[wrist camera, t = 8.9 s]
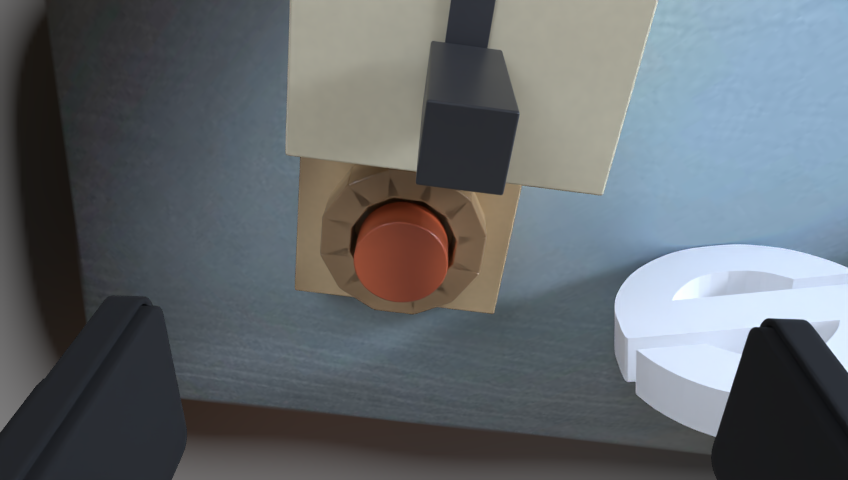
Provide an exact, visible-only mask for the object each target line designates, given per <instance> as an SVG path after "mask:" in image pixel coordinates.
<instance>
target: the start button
mask: <svg viewBox="0 0 848 480" xmlns="http://www.w3.org/2000/svg"><path fill="white" fill-rule="evenodd" d="M354 268H355V272H356V274H357V277H358V279H359V280H360V282H361V283H362V284H363V286H364V287H365V288H366V289H367V290H368V291H370V292H371V293H372V294H374V295H376V296H378V297H380V298H382V299H384V300H388V301H392V302H412V301H417V300H420V299H422V298H425V297H427V296H428V295H430V294H431V293H433V292H434V291H435V290H436V289H437V288H438V287H439V286H440V285H441V283H442V282H443V280H444V278H445V276H446V273H447V269H448V237H447V232H446V230H445V227H444V225H443V224H442V222H441V221H440V219H439V218H438V217H437V216H436V215H435V214H434V213H432V212H431V211H430V210H428V209H427V208H425V207H423V206H420V205H417V204H414V203H409V202H395V203H390V204H386V205H383V206H381V207H379V208H377V209H376V210H374V211H373V212H372V213H370V214H369V215H368V216H367V217H366V219H365V220H364V222H363V223H362V225H361V228H360V231H359V234H358V239H357V243H356V248H355V252H354Z"/></svg>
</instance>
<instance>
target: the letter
mask: <svg viewBox="0 0 848 480" xmlns="http://www.w3.org/2000/svg"><path fill="white" fill-rule="evenodd" d="M768 318H776V319H803V320H806V321H808V322H809V323H810V324H811V325H812V326H813V327H814V329H815V330H816V331H817V333H818V334H819V335H820V337H821V338H822V339H823V341H824V342H825V343H826V344H827V346H828V347H829V348H830V350H831V351H832V352H833V354H834V355H835V356H836V358H837V359H838V360H839V361H840V363H841V364H842V365H843V367H844V368H845V369H846V371H847V372H848V268H847V267H845V266H842V265H840V264H837V263H835V262H832V261H829V260H826V259H823V258H820V257H817V256H813V255H810V254H806V253H802V252H798V251H793V250H789V249H783V248H776V247H768V246H758V245H744V244H733V245H717V246H706V247H698V248H691V249H685V250H681V251H677V252H673V253H670V254H667V255H664V256H662V257H659V258H657V259H655V260H653V261H651V262H649V263H647V264H645V265H643V266H642V267H640V268H639V269H637V270H636V271H635V272H633V273H632V274H631V275H630V276H629V277H628V278H627V279H626V281H625V282H624V283H623V284H622V286H621V287H620V289H619V291H618V293H617V296H616V299H615V332H614V349H615V356H616V359H617V362H618V365H619V368H620V371H621V373H622V376H623V378H624V380H625V381H627V382H635V381H636V395H638V396H639V397H640V398H641V399H643V400H644V401H645V402H646V403H647V404H649V405H650V406H652V407H653V408H654V409H656V410H658V411H659V412H661V413H662V414H664V415H666V416H667V417H669V418H671V419H673V420H675V421H677V422H679V423H681V424H683V425H685V426H688V427H690V428H692V429H695V430H697V431H700V432H703V433H706V434H709V435H711V436H715V437H716V435H717V432H718V429H719V425H720V422H721V419H722V416H723V413H724V410H725V406H726V403H727V400H728V397H729V394H730V391H731V387H732V384H733V381H734V378H735V375H736V372H737V368H738V365H739V362H740V359H741V356H742V352H743V349H744V346H745V343H746V340H747V337H748V334H749V332H750V330H751V329H752V328H754V327H760V325H761V323H762V322H763V321H764V320H765V319H768Z"/></svg>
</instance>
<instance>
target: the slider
mask: <svg viewBox="0 0 848 480" xmlns="http://www.w3.org/2000/svg"><path fill="white" fill-rule="evenodd" d="M519 116H520V112H519V109H518V105H517V102H516V98H515V95H514V91H513V88H512V84H511V80H510V77H509V73H508V70H507V66H506V63H505V59H504V56H503V52H502V51H501V50H496V49H489V48H481V47H474V46H467V45H459V44H452V43H445V42H437V41H432V42H431V45H430V52H429V60H428V68H427V75H426V83H425V91H424V98H423V106H422V116H421V127H420V138H419V149H418V161H417V172H416V184H417V185H423V186H431V187H439V188H447V189H455V190H463V191H470V192H478V193H486V194H494V195H503V193H504V189H505V184H506V179H507V174H508V169H509V164H510V159H511V155H512V150H513V145H514V140H515V135H516V130H517V125H518V120H519Z"/></svg>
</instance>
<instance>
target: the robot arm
mask: <svg viewBox="0 0 848 480" xmlns="http://www.w3.org/2000/svg"><path fill="white" fill-rule="evenodd" d="M186 440H187V429H186V423H185V418H184V413H183V408H182V404H181V399H180V394H179V389H178V384H177V379H176V374H175V369H174V364H173V359H172V354H171V349H170V344H169V340H168V335H167V330H166V325H165V320H164V315H163V312H162V309H161V308H160V307H158V306H152V303H151V301H150V299H149V298H147V297H139V296H109V297H107V298H106V299H105V300H104V302H103V303H102V304H101V306H100V307H99V308H98V310H97V311H96V312H95V313H94V315H93V316H92V317H91V319H90V320H89V321H88V323H87V324H86V325H85V327H84V328H83V329H82V330H81V332H80V333H79V334H78V336H77V337H76V338H75V340H74V341H73V342H72V344H71V345H70V346H69V348H68V349H67V350H66V351H65V353H64V354H63V355H62V357H61V358H60V359H59V361H58V362H57V363H56V365H55V366H54V367H53V369H52V370H51V371H50V373H49V374H48V375H47V376H46V378H45V379H43V380H42V381H41V382H40V383H39V384H38V385H37V386H36V387H35V388H34V390H33V391H32V392H31V393H30V395H29V396H28V397H27V399H26V400H25V401H24V403H23V404H22V405H21V407H20V408H19V409H18V410H17V412H16V413H15V414H14V416H13V417H12V418H11V420H10V421H9V422H8V423H7V425H6V426H5V427H4V429H3V430H2V431H1V432H0V480H172V478H173V475H174V473H175V471H176V469H177V466H178V464H179V462H180V459H181V457H182V455H183V452H184V450H185V446H186ZM711 458H712V467H713V471H714V474H715V476H716V478H717V480H848V372H847V371H846V369H845V368H844V367H843V365H842V364H841V363H840V361H839V360H838V359H837V358H836V356H835V355H834V354H833V352H832V351H831V350H830V348H829V347H828V346H827V344H826V343H825V342H824V341H823V339H822V338H821V337H820V335H819V334H818V333H817V331H816V330H815V329H814V327H813V326H812V325H811V324H810V323H809V322H808V321H806V320H803V319H776V318H768V319H765V320H764V321H763V322H762V323H761V325H760V327H754V328H752V329H751V330H750V332H749V334H748V337H747V340H746V343H745V346H744V349H743V352H742V356H741V359H740V362H739V365H738V368H737V372H736V375H735V378H734V381H733V384H732V387H731V391H730V394H729V397H728V400H727V403H726V406H725V410H724V413H723V416H722V419H721V422H720V425H719V429H718V432H717V435H716V438H715V441H714V445H713V448H712V457H711Z"/></svg>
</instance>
